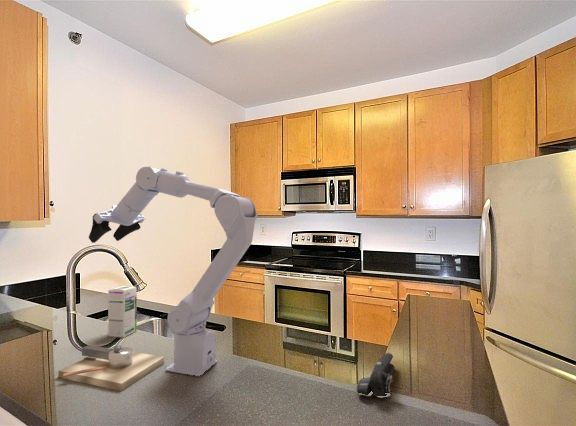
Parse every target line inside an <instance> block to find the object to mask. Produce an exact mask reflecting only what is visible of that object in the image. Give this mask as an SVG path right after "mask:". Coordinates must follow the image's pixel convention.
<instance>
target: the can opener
mask: <svg viewBox="0 0 576 426" xmlns="http://www.w3.org/2000/svg"><path fill="white" fill-rule="evenodd" d="M393 358H394V356H393V354H392V353H390V352H387V353H385V354H383V355H382V356H381V357H380V358H378V361H377V362H376V363H375V365H374V366H373V367H374V368H373V370H372V372H371V375H370V377H363V378H361V379H359V381H358V383H357V386H356V393H357V392H358V393H362V394H365V395H368V394H369V393H370V392H371V391H372V392H373V395H374V394H375V395H376V396H386V395H387V394H385V393H390V391H391V383H392V382H394V380H393V374H394V373H395V372H394V371H395V366H394V364H392V363H391V362H392V359H393ZM358 393H357V394H358ZM375 395H374V396H375ZM376 396H375V397H376Z"/></svg>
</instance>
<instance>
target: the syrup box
mask: <svg viewBox="0 0 576 426" xmlns="http://www.w3.org/2000/svg"><path fill="white" fill-rule="evenodd" d="M137 288H138V287H137V286H135V285H121V286H119V287H115V288H111V289H108V292H107V293H108V294H107V295H108V298H107V299H108V300H107V302H108V303H107V305H108V307H107V308H108V309H107V311H108V312H107V313H108V315H107V316H108V317H107V329H108V331H107V334H108V337H112V338H123V339H124V338H126V337H127V336H129V335H131V334H133V333H135V332H137V330H138V329H137V324H138V323H137V320H138V319H137V316H138V315H137V307H138V305H137V299H138V298H137V297H138V296H137V291H138V290H137Z"/></svg>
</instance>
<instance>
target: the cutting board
mask: <svg viewBox="0 0 576 426" xmlns="http://www.w3.org/2000/svg"><path fill="white" fill-rule="evenodd" d="M109 348H110V347H109ZM110 349H113V348H112V347H111V348H110ZM164 364H165V356H160V355H156V354H155V355H153V354H149V353H142V352H135V351H133V362H132V364H130V365H129V366H127V367H124V368H120V369H111V368H109V367H108V360H105V359H100V358H94V357H88V356H84V357H83V359H81V360H78V361H77V362H75V363H73V364H72V363H71V364H70V365H67V366H66V367H63V368H61V369H58V376H57V377H58V378H60V379H63V380H68V381H74V382H77V383H82V384H83V383H84V384H87V385H93V386H97V387H102V388H106V389H111V390H117V391H121V392H122V391H123V390H125V389H127V388H128V387H130V386H131V385H133V384H134V383H136V382H137V381H139V380H140V379H142V378H143V377H145V376H146V375H148V374H149V373H151V372H153V371H154V370H156V369H157V368H159V367H160V366H162V365H164Z"/></svg>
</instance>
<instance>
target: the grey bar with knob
mask: <svg viewBox="0 0 576 426" xmlns="http://www.w3.org/2000/svg"><path fill="white" fill-rule="evenodd" d="M133 352H134V350H133V348H132V347H122V345H116V346H114V347H113V348H112V349H110V347H103V346H99V345H91V344H88V345H86V346H83V347H82V348H81V356H83V357H94V358H100V359H105V360H108V367H109V368H111V369H120V368H124V367H127V366H129V365H130V364H132V362H133Z"/></svg>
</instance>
